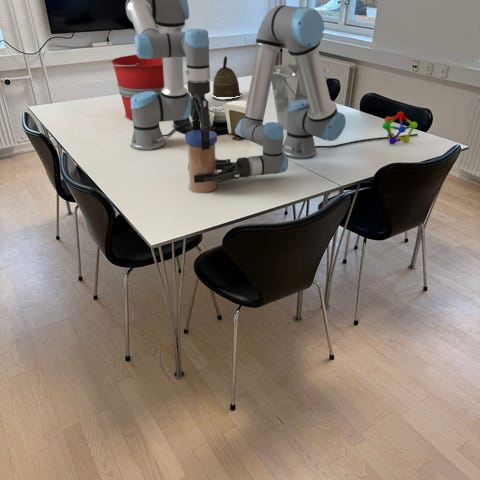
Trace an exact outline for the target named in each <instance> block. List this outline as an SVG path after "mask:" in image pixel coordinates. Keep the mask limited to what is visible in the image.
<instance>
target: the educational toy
mask: <svg viewBox="0 0 480 480" xmlns="http://www.w3.org/2000/svg"><path fill="white" fill-rule="evenodd" d="M397 119H399V124H400V125H399V127H398V126H393V125H391V124H392V123H394V122H395V121H396V120H397ZM403 120H404V121H405V122H407V123H408V124H409V125H407V126H404V123H403ZM417 127H418V122H417V121H411V120H410V119H409V118H408V117H406V116H405V113H404V112H403V111H401V110H400V111H398V112H397V114H396V115H394V116H391V117H390V116H386V117H385V118H384V122H383V123H382V129H383V130H386V132H387V137H388V138H389V139H388V142H389V145H395V144H396V143H397V142H402V141H403V142H404V143H409V142H410V140H411V138H410V137H411V136H410V135H411V134H412V132H413V131H414V130H415V129H417ZM392 129H393V130H397V131H398V132H396V134H395V133H394V132H392ZM408 129H409V131H408V133H407V134H406V135H407V136H404V137H400V136H401V134H403V133H405V132H406V130H408ZM409 136H410V137H409ZM393 137H394V138H393Z"/></svg>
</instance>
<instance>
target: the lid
mask: <svg viewBox="0 0 480 480" xmlns="http://www.w3.org/2000/svg"><path fill="white" fill-rule="evenodd" d="M209 141H210V145H213V144H215V145H216V143H217V142H218V134H217V133H216V131H214V130H211V131H209ZM184 142H185V143H186V144H188V145H191V146H199V147H202V144H201V132H200V130H193V129H192V130H190V131H186V133H185V134H184Z"/></svg>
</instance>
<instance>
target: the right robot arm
mask: <svg viewBox="0 0 480 480" xmlns="http://www.w3.org/2000/svg"><path fill="white" fill-rule="evenodd" d="M324 31H325V22H324V19H323V17H322V14H321V13H320V12H319V11H318V10H317V9H315V8H311V7H308V6H293V5H292V6H291V5H284V4H280V5H277V6H275V7H273V8H271V9H270V10H269V11H268V12H267V13H266V14H265V16H264V17H263V19H262V21H261V23H260V26H259V28H258V30H257V35H256V40H255V45H256V48H257V49H256V54H255V59H254V64H253V70H252V75H251V81H250V86H249V91H248V96H247V101H246V103H247V104H246V106H245V112H244V118H241V119H240V120H239V121H238V123H237V125H236V133H237V134H238V136H240V137H241V138H243V139H244V140H247V141H248V142H249V141H250V142H252V143H254V144H257V145H259V146H262V155H252V156H248V157H247V156H243V157H238V158H237V159H236V161H235V162H234V161H231V159H230V158H227V159H226V158H225V159H217V160H216V171H217V170H218V172H216V173H210V174H201V175H194V183H199V182H207V181H213V182H216V184H220V183H224V182H229V181H233V180H238V179H241V178H242V179H243V178H249V177H255V178H256V177H258V176H265V175H277V174H282V173H285V172H287V170H288V168H289V158H291V159H297V160H298V159H299V160H302V159H310V158H313V157H314V156H316V154H317V149H331V148H337V147H342V146H347V145H351V144H357V143H362V142H363V143H364V142H369V141H370V142H371V141H378V140H379V141H380V140H390V139H389V138H388V136H381V137H372V138H364V139H357V140H352V141H348V142H342V143H338V144H333V145H316V143H315V138H314V137H316V138H318V139H321V140H323V141H328V142H333V141H336V140H337V139H338V138H340V136H341V135H342V133H343V132H344V129H345V128H346V123H347V122H346V120H347V119H346V116H345V115H344V113H342V112H339V111H338V108H337V104H336V102H335V101H334V100H332V99H331V96H330V92H329V88H328V85H327V81H326V79H325V75H324V71H323V67H324V66H323V63H322V60H321V56H320V55H321V54H320V52H319V48H320V46H321V43H322V40H323V37H324V33H323V32H324ZM284 43H285V45H286V47H287V48H286V49H287V51H288V54H289V55H290V56H292V57H294V60H295V64H297V67H298V70H299V73H300V77H301V80H302V84H303V87H304V90H305V94H306V97H307V100H296V101H292V102H291V103H290V104H289V108H288V120H287V129H286V136H284V128H283V125H282V124H280V123H278V122H275V121H270V122H265V123H264V118H265V114H266V109H267V108H266V107H267V105H268V99H269V95H270V91H271V90H270V89H271V86H272V82H271V81H272V76H273V71H274V66H276V61H277V56H278V52H279V51H281V49H282V46H283V44H284ZM407 135H408V134H404V135H399V136H400V137H404V136H407ZM418 135H419V134H418V133H411V134H410V136H409V137H417V136H418ZM284 137H285V139H284ZM393 138H394V137H393ZM187 168H188V169H187V171H188V172H189V163H187ZM212 174H213V176H212Z"/></svg>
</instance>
